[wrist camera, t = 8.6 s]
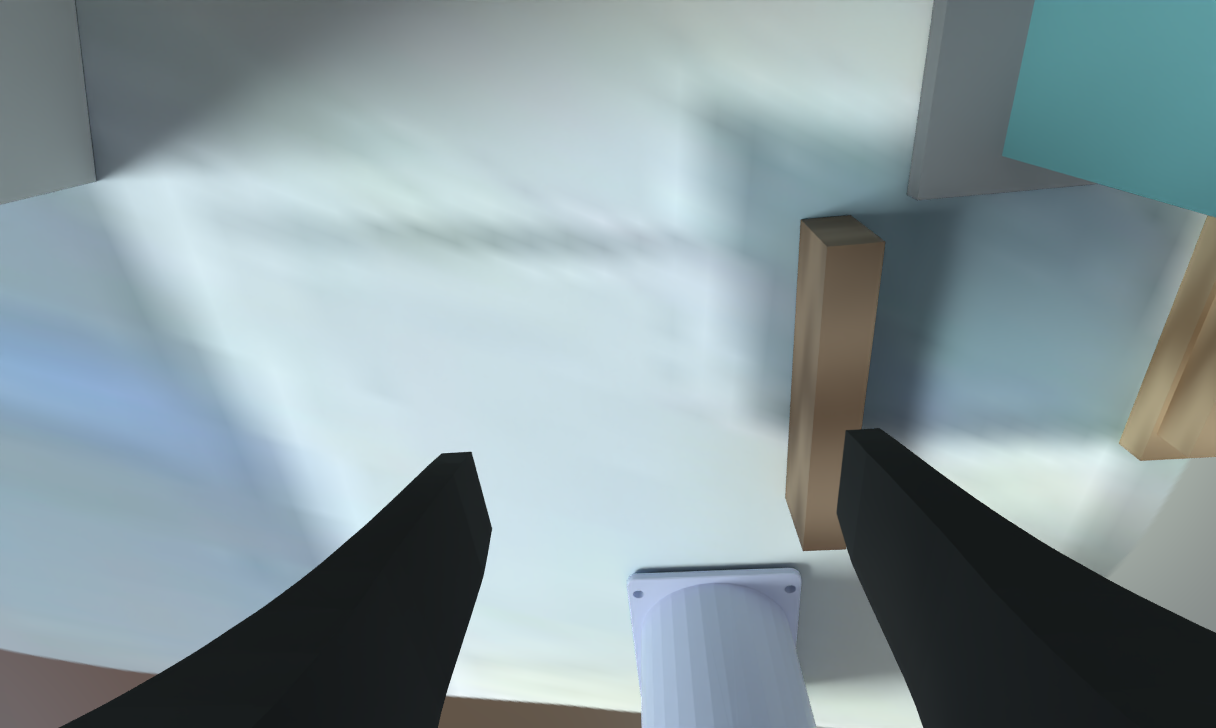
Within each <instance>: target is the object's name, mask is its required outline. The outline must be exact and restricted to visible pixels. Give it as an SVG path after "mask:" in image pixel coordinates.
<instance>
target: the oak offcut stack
mask: <svg viewBox="0 0 1216 728" xmlns="http://www.w3.org/2000/svg"><path fill="white" fill-rule="evenodd" d="M1119 444H1120V445H1121V446H1123V447H1124V448H1125V449H1126V450H1127V451H1129V452H1130V453H1131V454H1132V455H1134V456H1135V457H1136V458H1137V459H1139V460H1140V461H1145V460H1164V459H1184V458H1203V457H1216V217H1213V216H1207V218H1206V221H1205V223H1204V226H1203V229H1202V231H1201V234H1200V236H1199V239H1198V241H1197V244H1196V246H1195V249H1194V252H1193V254H1192V257H1191V259H1190V262H1189V264H1188V267H1187V270H1186V272H1185V275H1184V277H1183V280H1182V282H1181V285H1180V288H1179V290H1178V293H1177V295H1176V298H1175V300H1174V303H1173V305H1172V308H1171V311H1170V313H1169V316H1168V318H1167V321H1166V323H1165V326H1164V329H1163V331H1162V334H1161V336H1160V339H1159V341H1158V344H1157V347H1156V349H1155V352H1154V354H1153V357H1152V359H1151V362H1150V364H1149V367H1148V370H1147V372H1146V375H1145V377H1144V380H1143V382H1142V385H1141V388H1140V390H1139V393H1138V395H1137V398H1136V400H1135V403H1134V406H1133V408H1132V411H1131V413H1130V416H1129V418H1128V421H1127V423H1126V426H1125V429H1124V431H1123V434H1122V436H1121V439H1120V441H1119Z"/></svg>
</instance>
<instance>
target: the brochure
mask: <svg viewBox="0 0 1216 728" xmlns="http://www.w3.org/2000/svg"><path fill="white" fill-rule="evenodd" d="M92 182H96V174H95V166H94V158H93V149H92V141H91V132H90V124H89V115H88V107H87V98H86V90H85V82H84V73H83V65H82V56H81V48H80V39H79V31H78V22H77V14H76V6H75V0H0V205H1V204H5V203H10V202H14V201H18V200H22V199H26V198H30V197H34V196H39V195H43V194H47V193H51V192H55V191H59V190H63V189H68V188H72V187H76V186H80V185H84V184H88V183H92Z"/></svg>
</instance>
